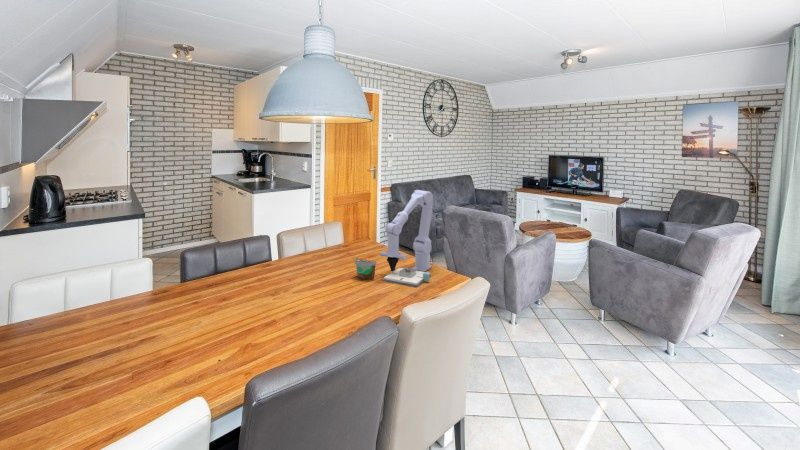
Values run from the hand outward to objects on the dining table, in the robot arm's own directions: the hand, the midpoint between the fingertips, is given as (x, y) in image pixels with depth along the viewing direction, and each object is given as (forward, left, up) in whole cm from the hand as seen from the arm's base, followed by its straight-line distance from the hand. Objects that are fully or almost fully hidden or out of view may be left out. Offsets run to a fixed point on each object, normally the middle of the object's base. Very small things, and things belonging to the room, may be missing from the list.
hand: (392, 270), depth 215 cm
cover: (0, +9, -1) cm, 9 cm away
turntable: (0, +10, -2) cm, 10 cm away
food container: (+11, -11, -3) cm, 16 cm away
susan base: (0, +9, -3) cm, 9 cm away
